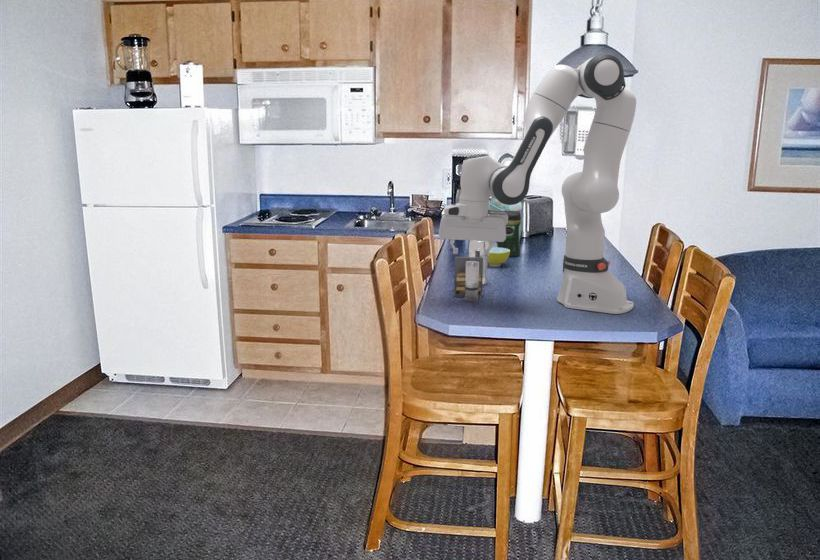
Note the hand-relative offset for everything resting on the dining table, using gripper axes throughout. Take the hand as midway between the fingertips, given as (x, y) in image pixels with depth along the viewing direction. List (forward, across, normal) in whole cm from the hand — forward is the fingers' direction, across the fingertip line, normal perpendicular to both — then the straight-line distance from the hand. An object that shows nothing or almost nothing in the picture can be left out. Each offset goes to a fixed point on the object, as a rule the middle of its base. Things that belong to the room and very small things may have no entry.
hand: (470, 254), depth 197 cm
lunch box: (+14, -16, -108) cm, 110 cm away
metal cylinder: (+14, -1, 0) cm, 14 cm away
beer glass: (+14, -3, -22) cm, 27 cm away
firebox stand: (+14, 0, -8) cm, 16 cm away
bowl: (+14, -10, -51) cm, 54 cm away
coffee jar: (+14, -17, -72) cm, 75 cm away
